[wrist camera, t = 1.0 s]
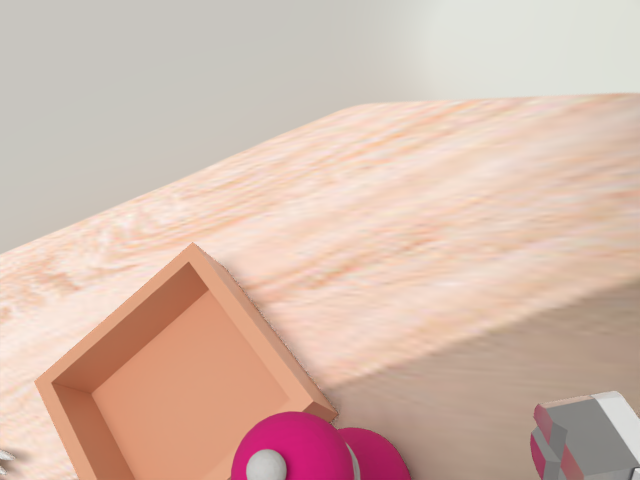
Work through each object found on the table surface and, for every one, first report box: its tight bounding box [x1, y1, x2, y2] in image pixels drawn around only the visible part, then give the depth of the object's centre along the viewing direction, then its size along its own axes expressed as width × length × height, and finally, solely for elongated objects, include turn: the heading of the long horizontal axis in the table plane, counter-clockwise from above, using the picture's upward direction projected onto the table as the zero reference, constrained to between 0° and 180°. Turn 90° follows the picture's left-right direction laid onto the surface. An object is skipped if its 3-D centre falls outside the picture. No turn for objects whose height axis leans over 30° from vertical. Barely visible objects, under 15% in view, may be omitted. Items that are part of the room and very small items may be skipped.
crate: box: [34, 243, 338, 480], centre depth 47 cm, size 17×17×6 cm
